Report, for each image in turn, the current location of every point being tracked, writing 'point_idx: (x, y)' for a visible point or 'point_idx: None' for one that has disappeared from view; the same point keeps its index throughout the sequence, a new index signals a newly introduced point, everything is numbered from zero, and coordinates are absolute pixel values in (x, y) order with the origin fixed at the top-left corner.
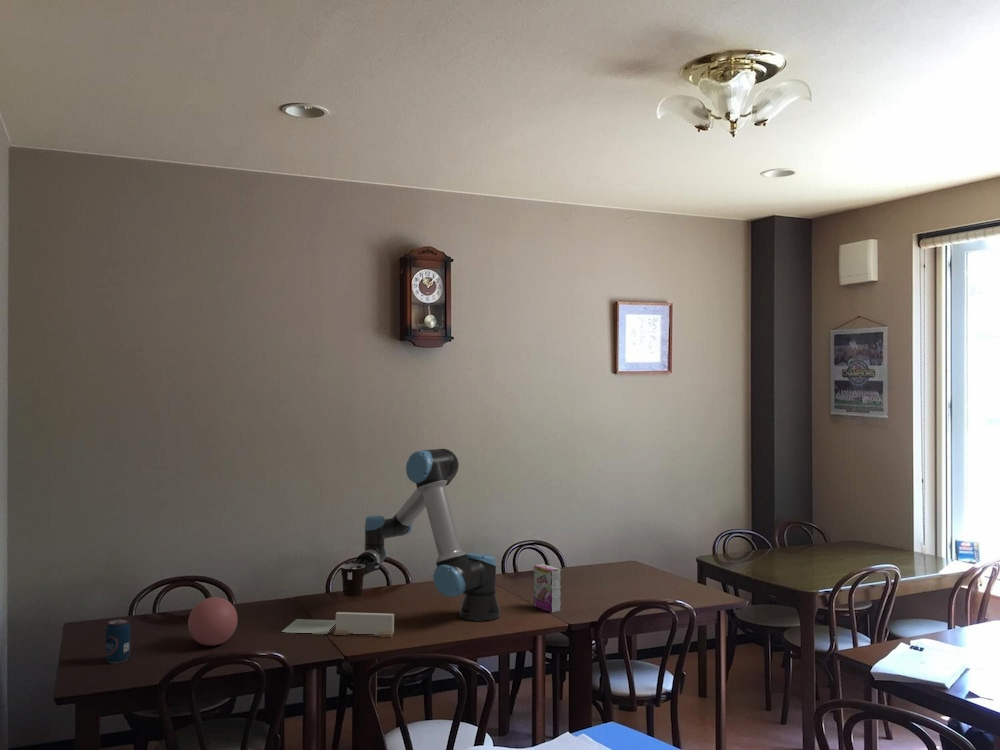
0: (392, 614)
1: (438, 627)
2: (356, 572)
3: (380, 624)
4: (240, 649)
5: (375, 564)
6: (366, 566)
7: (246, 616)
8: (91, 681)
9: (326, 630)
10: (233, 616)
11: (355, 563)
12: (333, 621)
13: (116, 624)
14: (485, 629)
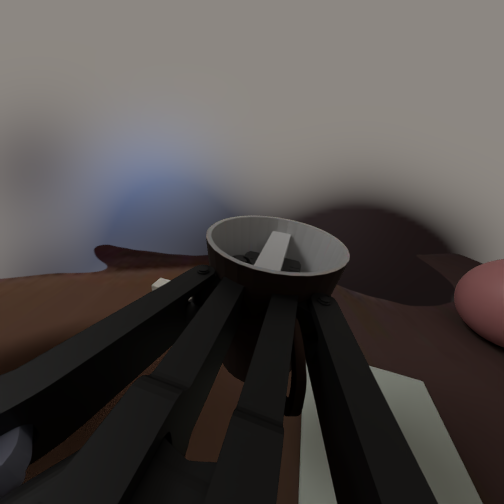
0: (157, 282)
1: (9, 346)
2: (253, 232)
3: None
4: (414, 307)
5: (2, 379)
6: (175, 294)
7: None
8: (474, 266)
9: None
10: (471, 280)
11: (280, 424)
12: (320, 486)
13: None
14: None
